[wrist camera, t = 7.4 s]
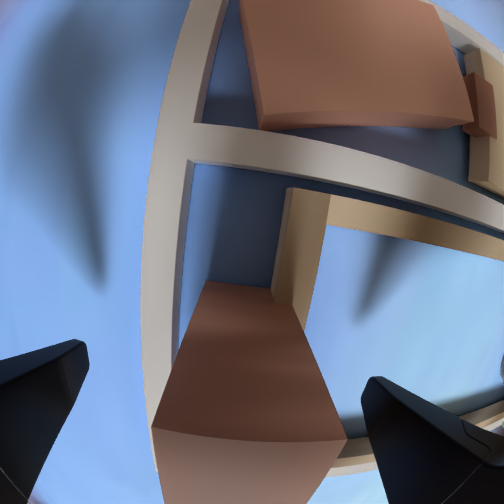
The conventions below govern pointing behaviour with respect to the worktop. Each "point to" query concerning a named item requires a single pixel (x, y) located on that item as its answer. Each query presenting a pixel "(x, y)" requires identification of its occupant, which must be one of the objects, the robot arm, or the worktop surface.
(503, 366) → the coffee cup
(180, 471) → the tan rectangular frame
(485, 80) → the tan long flat piece
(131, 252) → the worktop surface
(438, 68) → the reddish brown block
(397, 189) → the lane tray
